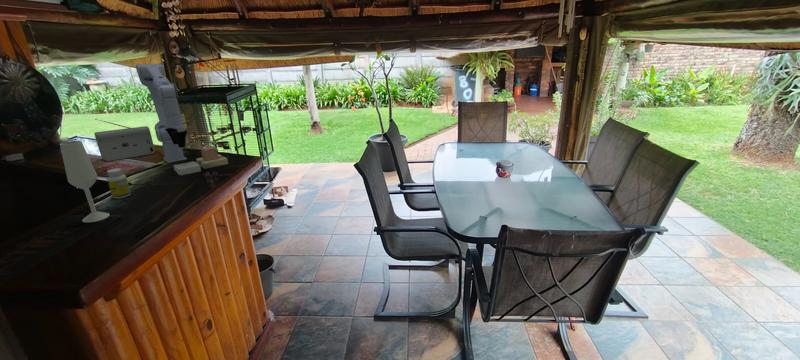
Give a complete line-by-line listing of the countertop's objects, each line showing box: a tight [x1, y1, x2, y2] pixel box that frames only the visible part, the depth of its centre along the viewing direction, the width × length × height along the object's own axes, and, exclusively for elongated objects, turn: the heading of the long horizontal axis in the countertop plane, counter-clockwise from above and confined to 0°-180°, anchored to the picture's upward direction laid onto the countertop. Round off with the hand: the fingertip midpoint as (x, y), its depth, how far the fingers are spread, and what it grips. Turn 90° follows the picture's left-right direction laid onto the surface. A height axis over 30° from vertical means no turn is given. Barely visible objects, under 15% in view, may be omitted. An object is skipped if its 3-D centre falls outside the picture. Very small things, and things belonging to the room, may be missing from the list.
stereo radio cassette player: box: [94, 118, 156, 163], centre depth 167 cm, size 21×8×20 cm, turn 133°
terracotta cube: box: [200, 145, 219, 161], centre depth 159 cm, size 5×5×5 cm
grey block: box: [173, 161, 202, 176], centre depth 151 cm, size 8×8×3 cm
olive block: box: [195, 153, 229, 169], centre depth 160 cm, size 10×10×3 cm
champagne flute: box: [59, 140, 110, 223], centre depth 106 cm, size 7×7×24 cm
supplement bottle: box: [106, 167, 132, 200], centre depth 124 cm, size 5×5×10 cm
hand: (179, 145), depth 152 cm, fingers open, 7 cm apart
